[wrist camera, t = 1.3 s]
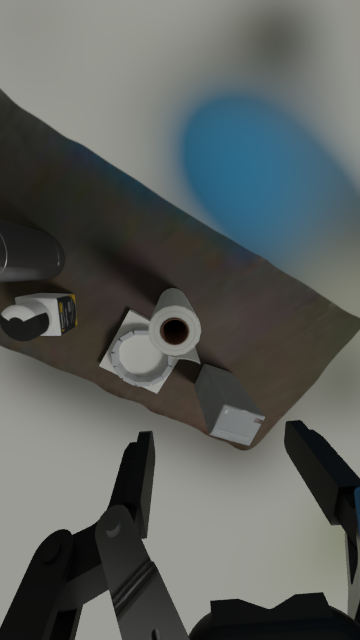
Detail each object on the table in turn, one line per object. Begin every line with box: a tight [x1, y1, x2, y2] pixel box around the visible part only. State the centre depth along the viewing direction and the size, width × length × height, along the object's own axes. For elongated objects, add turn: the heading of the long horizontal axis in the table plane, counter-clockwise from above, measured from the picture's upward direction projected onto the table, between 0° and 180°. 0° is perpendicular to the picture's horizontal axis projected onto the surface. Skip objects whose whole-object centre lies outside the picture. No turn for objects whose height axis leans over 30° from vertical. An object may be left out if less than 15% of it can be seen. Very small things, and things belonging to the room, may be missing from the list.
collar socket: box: [99, 309, 179, 393], centre depth 43 cm, size 15×15×4 cm
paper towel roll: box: [148, 288, 201, 364], centre depth 32 cm, size 7×6×21 cm
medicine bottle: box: [0, 293, 77, 341], centre depth 36 cm, size 7×7×12 cm
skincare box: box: [195, 364, 265, 446], centre depth 40 cm, size 8×7×16 cm
